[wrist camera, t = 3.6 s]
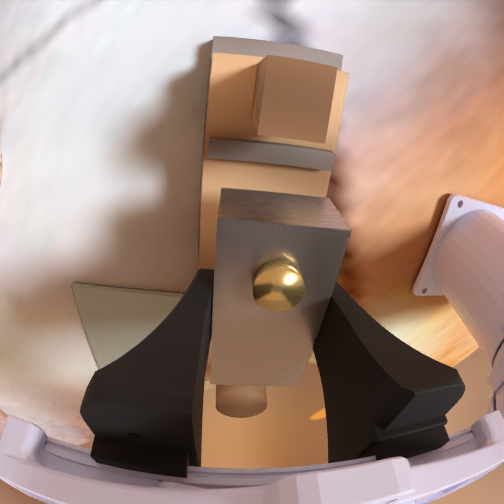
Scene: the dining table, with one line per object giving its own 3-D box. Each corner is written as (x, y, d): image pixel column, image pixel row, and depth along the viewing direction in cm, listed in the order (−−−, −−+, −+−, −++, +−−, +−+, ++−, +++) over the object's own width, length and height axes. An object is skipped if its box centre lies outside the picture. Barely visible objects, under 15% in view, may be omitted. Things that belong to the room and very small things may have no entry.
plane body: (214, 38, 12) (199, 8, 6) (337, 56, 12) (402, 46, 7) (198, 361, 23) (194, 433, 18) (273, 364, 24) (282, 434, 18)
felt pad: (183, 293, 19) (182, 297, 19) (188, 380, 25) (187, 384, 24) (73, 282, 19) (71, 286, 18) (102, 369, 24) (101, 373, 23)
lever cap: (221, 187, 11) (216, 228, 8) (328, 198, 11) (358, 240, 8) (212, 341, 15) (209, 394, 12) (290, 344, 15) (299, 395, 13)
